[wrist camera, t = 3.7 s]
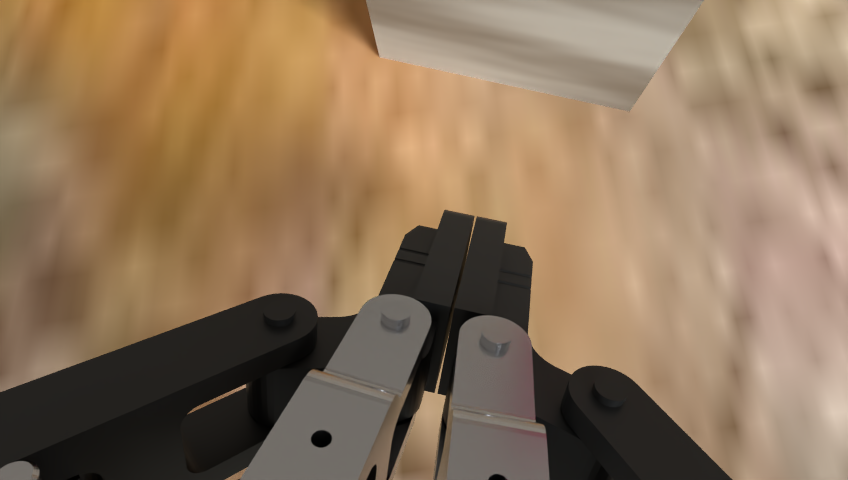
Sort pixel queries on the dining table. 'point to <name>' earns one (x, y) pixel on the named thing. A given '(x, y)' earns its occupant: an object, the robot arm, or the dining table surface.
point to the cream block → (537, 42)
